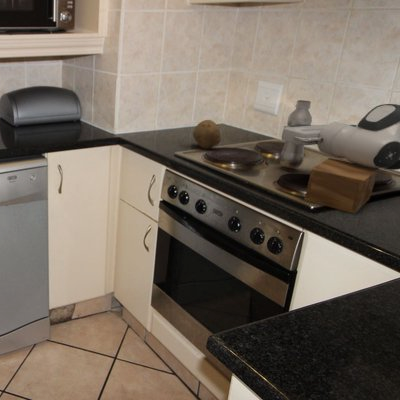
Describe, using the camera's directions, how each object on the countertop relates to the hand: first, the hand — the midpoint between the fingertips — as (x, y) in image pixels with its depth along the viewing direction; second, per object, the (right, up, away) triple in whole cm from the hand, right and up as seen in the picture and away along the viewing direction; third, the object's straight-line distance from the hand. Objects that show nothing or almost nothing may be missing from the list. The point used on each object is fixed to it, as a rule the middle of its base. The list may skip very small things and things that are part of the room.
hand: (295, 127), depth 142 cm
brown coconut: (-19, -4, +25) cm, 31 cm away
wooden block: (+1, -22, -18) cm, 28 cm away
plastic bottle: (0, -12, +4) cm, 12 cm away
